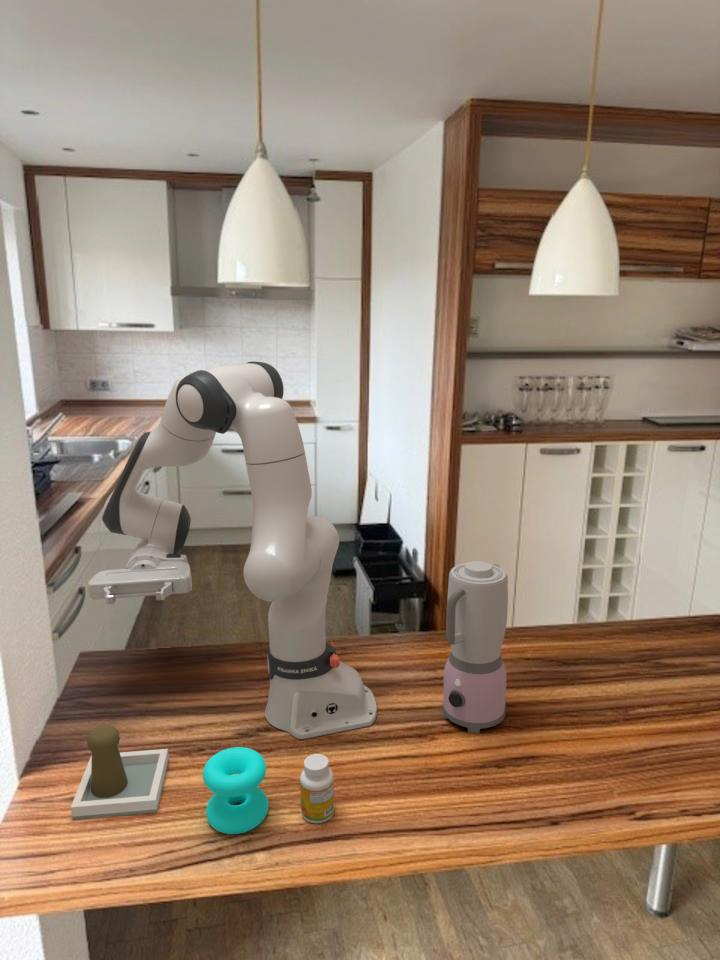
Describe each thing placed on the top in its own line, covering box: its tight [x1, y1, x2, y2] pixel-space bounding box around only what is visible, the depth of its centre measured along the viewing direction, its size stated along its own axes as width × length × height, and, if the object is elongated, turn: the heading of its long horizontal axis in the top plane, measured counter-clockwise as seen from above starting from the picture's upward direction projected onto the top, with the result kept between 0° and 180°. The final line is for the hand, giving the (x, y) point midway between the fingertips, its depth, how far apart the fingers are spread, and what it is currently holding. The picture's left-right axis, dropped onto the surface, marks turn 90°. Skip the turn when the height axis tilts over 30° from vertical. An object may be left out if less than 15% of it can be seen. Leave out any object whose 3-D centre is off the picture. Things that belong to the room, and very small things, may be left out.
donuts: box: [202, 746, 269, 835], centre depth 115 cm, size 10×10×10 cm
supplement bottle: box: [299, 753, 335, 824], centre depth 116 cm, size 5×5×10 cm
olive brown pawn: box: [86, 724, 128, 798], centre depth 121 cm, size 6×6×11 cm
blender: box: [442, 560, 509, 735], centre depth 137 cm, size 16×12×32 cm
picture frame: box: [70, 748, 170, 821], centre depth 123 cm, size 13×13×2 cm
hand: (134, 598), depth 138 cm, fingers open, 8 cm apart
